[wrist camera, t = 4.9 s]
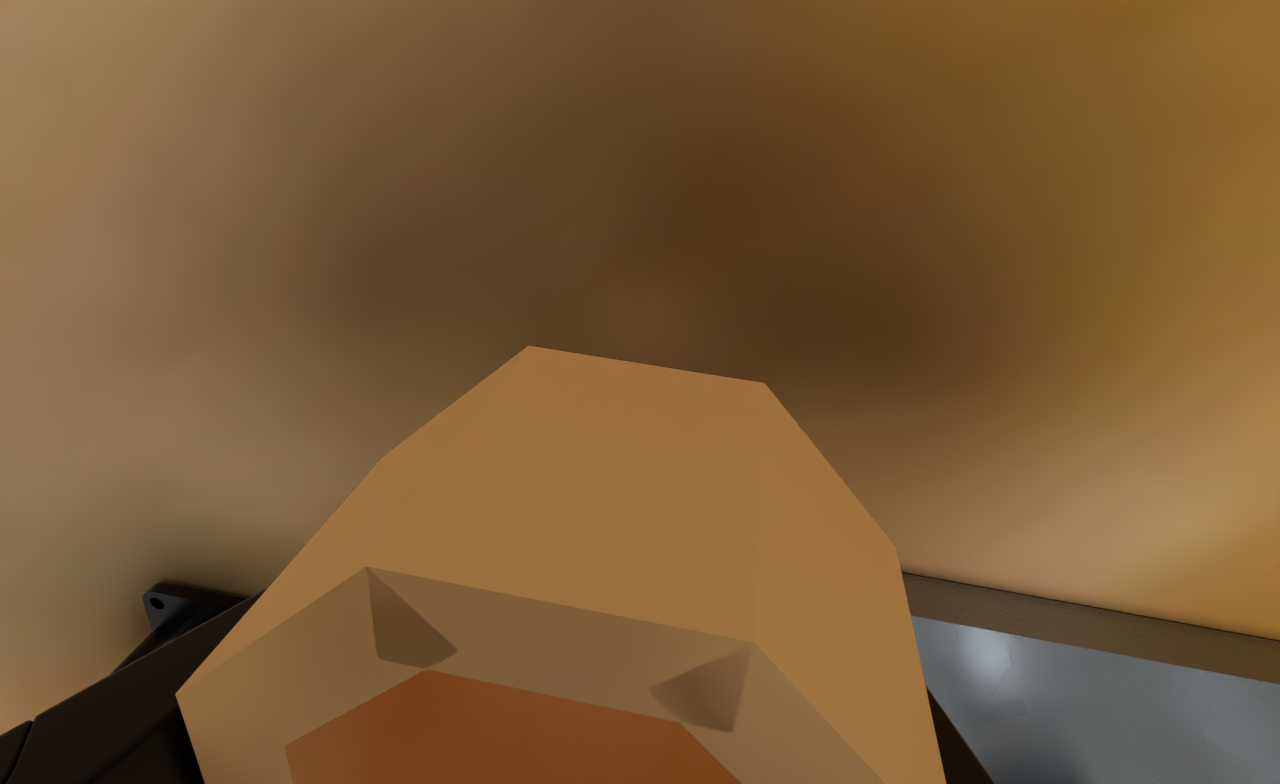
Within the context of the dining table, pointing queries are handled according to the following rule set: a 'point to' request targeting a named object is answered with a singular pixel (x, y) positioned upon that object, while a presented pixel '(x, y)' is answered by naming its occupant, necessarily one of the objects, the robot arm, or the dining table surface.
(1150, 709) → the piston stand
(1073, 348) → the dining table surface
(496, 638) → the collar
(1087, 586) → the dining table surface
